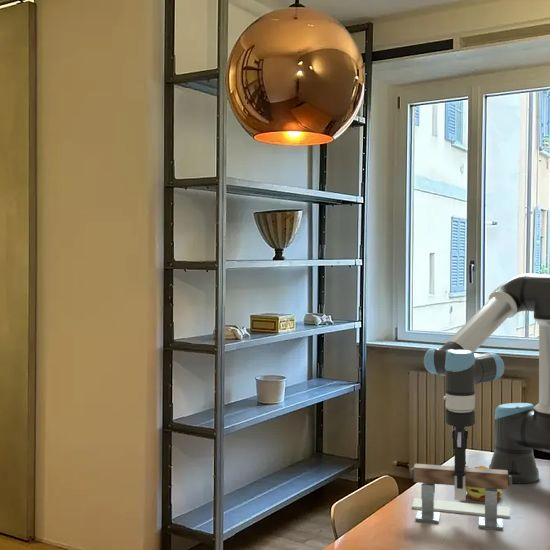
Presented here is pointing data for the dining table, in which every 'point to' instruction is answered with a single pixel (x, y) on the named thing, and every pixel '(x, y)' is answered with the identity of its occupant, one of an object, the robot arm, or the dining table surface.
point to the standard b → (490, 511)
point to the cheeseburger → (479, 490)
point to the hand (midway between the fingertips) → (460, 496)
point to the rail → (472, 476)
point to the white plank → (462, 508)
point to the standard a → (428, 505)
